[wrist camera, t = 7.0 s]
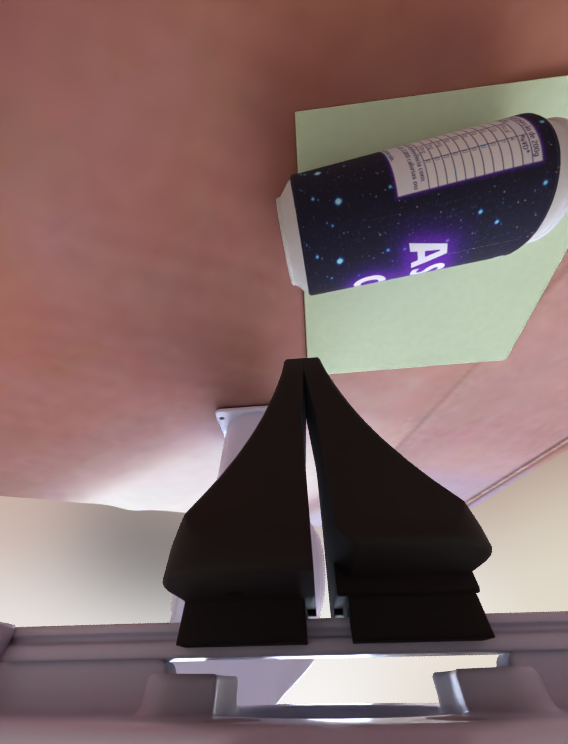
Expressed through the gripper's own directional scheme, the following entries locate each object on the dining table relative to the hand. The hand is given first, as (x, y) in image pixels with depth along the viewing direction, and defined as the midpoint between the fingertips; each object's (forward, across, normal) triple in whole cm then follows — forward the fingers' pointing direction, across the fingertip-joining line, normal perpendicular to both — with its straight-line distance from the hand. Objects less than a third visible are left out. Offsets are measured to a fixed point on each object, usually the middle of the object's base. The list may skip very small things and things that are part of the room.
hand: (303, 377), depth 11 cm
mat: (+10, -9, 0) cm, 14 cm away
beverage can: (+7, +1, -3) cm, 8 cm away
